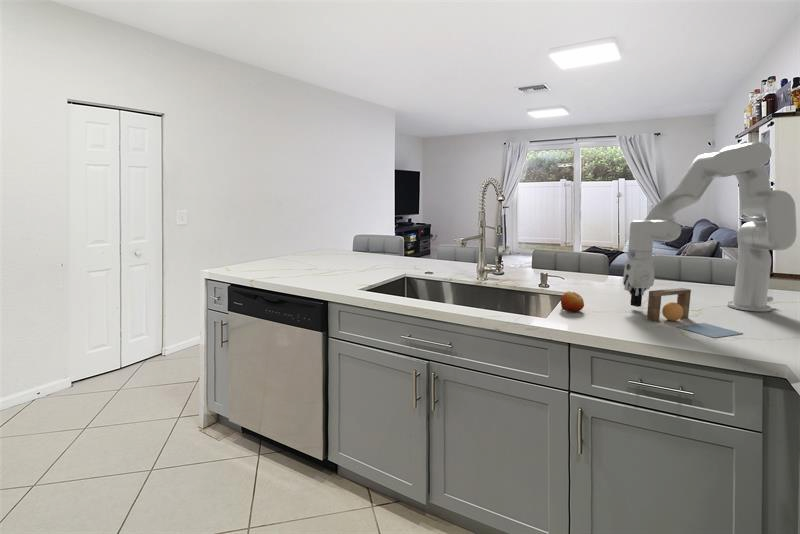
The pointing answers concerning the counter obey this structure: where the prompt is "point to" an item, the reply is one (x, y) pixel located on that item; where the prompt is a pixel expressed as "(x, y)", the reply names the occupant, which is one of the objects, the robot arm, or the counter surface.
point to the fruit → (572, 302)
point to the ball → (672, 311)
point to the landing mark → (709, 330)
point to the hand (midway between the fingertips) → (635, 305)
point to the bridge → (655, 296)
